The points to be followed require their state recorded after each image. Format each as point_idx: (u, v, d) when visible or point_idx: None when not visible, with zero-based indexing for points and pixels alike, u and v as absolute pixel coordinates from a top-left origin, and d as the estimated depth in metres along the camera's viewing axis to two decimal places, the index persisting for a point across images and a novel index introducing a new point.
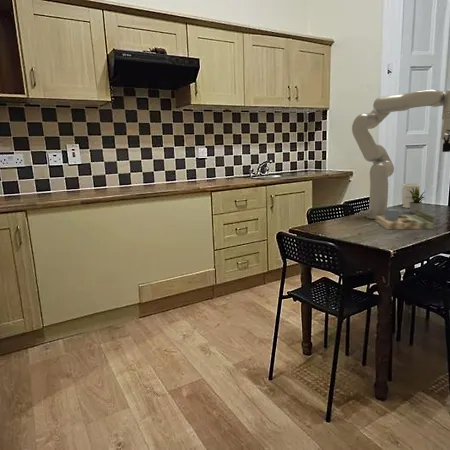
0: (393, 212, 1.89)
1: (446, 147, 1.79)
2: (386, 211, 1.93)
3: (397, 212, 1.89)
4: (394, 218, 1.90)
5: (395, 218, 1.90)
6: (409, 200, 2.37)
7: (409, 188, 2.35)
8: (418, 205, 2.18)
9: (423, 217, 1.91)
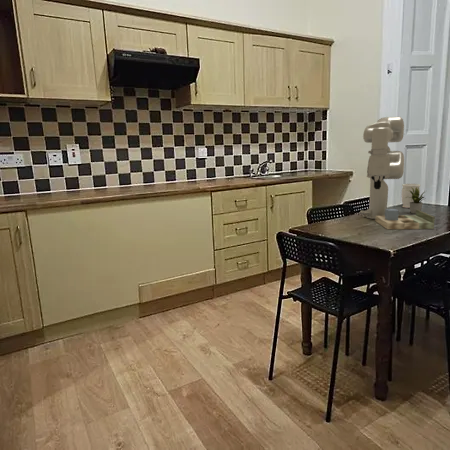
0: (393, 212, 1.89)
1: None
2: (386, 211, 1.93)
3: (397, 212, 1.89)
4: (394, 218, 1.90)
5: (395, 218, 1.90)
6: (409, 200, 2.37)
7: (409, 188, 2.35)
8: (418, 205, 2.18)
9: (423, 217, 1.91)
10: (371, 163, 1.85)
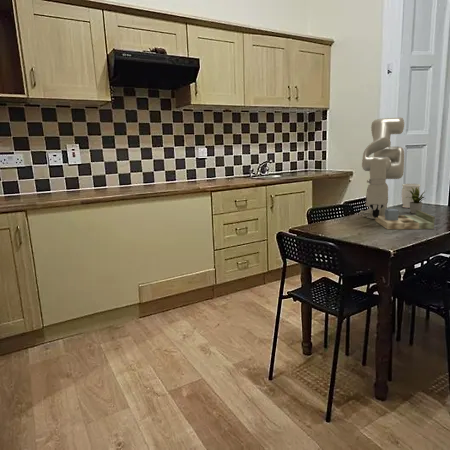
0: (393, 212, 1.89)
1: None
2: (386, 211, 1.93)
3: (397, 212, 1.89)
4: (394, 218, 1.90)
5: (395, 218, 1.90)
6: (409, 200, 2.37)
7: (409, 188, 2.35)
8: (418, 205, 2.18)
9: (423, 217, 1.91)
10: (369, 192, 1.88)
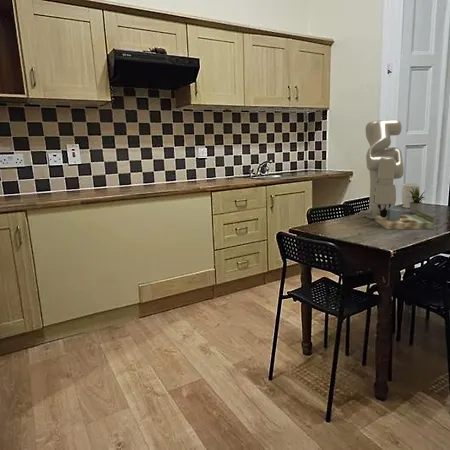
0: (395, 212, 1.89)
1: None
2: (388, 211, 1.92)
3: (399, 212, 1.89)
4: (396, 218, 1.90)
5: (397, 218, 1.90)
6: (409, 200, 2.37)
7: (409, 188, 2.35)
8: (418, 205, 2.18)
9: (423, 217, 1.91)
10: (377, 192, 1.88)
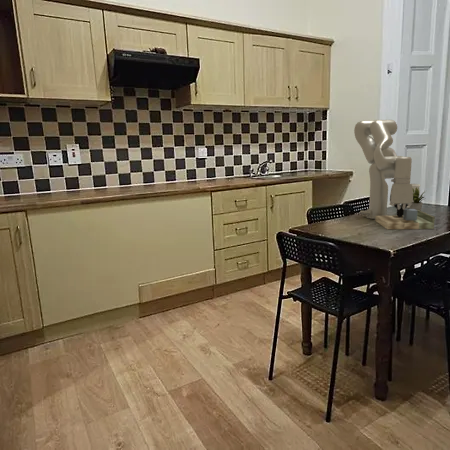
0: (412, 212, 1.88)
1: None
2: (404, 211, 1.91)
3: (416, 212, 1.87)
4: (413, 218, 1.88)
5: (414, 218, 1.88)
6: None
7: None
8: (418, 205, 2.18)
9: (423, 217, 1.91)
10: (394, 192, 1.87)
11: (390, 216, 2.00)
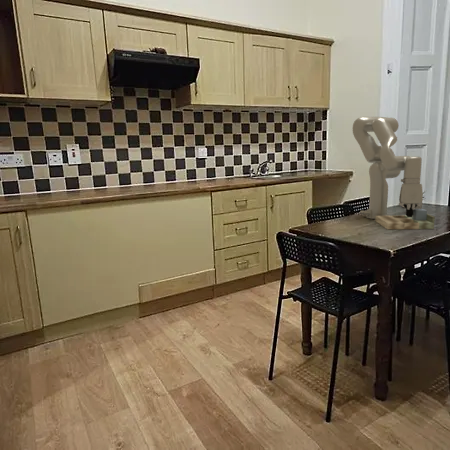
0: (421, 212, 1.87)
1: None
2: (414, 211, 1.90)
3: (425, 212, 1.87)
4: (422, 218, 1.88)
5: (423, 218, 1.88)
6: None
7: None
8: None
9: None
10: (403, 192, 1.87)
11: (390, 216, 2.00)
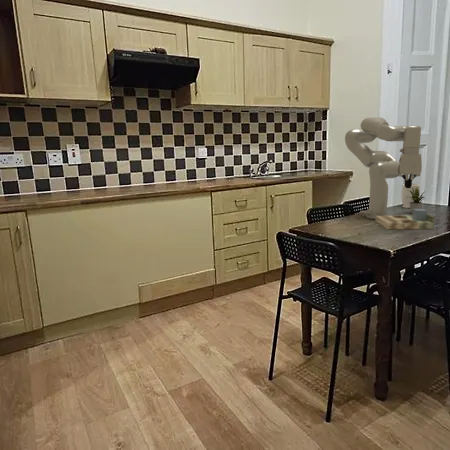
0: (421, 212, 1.87)
1: None
2: (414, 211, 1.90)
3: (425, 212, 1.87)
4: (422, 218, 1.88)
5: (423, 218, 1.88)
6: (409, 200, 2.37)
7: (409, 188, 2.35)
8: (418, 205, 2.18)
9: None
10: (402, 162, 1.84)
11: (390, 216, 2.00)
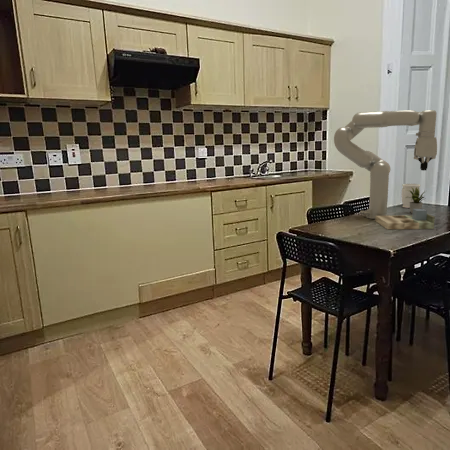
0: (421, 212, 1.87)
1: None
2: (414, 211, 1.90)
3: (425, 212, 1.87)
4: (422, 218, 1.88)
5: (423, 218, 1.88)
6: (409, 200, 2.37)
7: (409, 188, 2.35)
8: (418, 205, 2.18)
9: None
10: (419, 145, 1.93)
11: (390, 216, 2.00)
